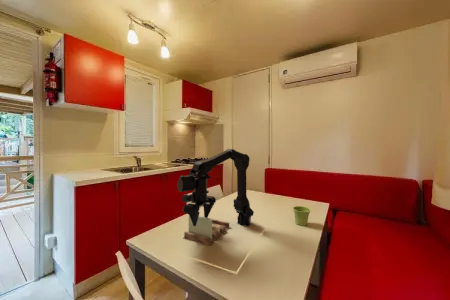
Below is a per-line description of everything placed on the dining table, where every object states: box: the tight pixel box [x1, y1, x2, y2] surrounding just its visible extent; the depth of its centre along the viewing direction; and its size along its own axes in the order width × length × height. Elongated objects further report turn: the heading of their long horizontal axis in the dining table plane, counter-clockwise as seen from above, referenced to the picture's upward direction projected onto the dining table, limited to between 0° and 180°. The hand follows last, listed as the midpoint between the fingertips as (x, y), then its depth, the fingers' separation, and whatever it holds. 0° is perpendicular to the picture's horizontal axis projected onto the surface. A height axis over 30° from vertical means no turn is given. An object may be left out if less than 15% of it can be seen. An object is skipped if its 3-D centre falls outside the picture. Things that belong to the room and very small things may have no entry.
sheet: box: [188, 215, 213, 241], centre depth 87 cm, size 12×2×10 cm, turn 64°
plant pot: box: [292, 205, 312, 227], centre depth 107 cm, size 9×9×9 cm
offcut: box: [212, 224, 220, 234], centre depth 92 cm, size 5×2×4 cm, turn 64°
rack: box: [182, 218, 231, 247], centre depth 93 cm, size 15×21×3 cm
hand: (200, 222), depth 87 cm, fingers open, 9 cm apart
